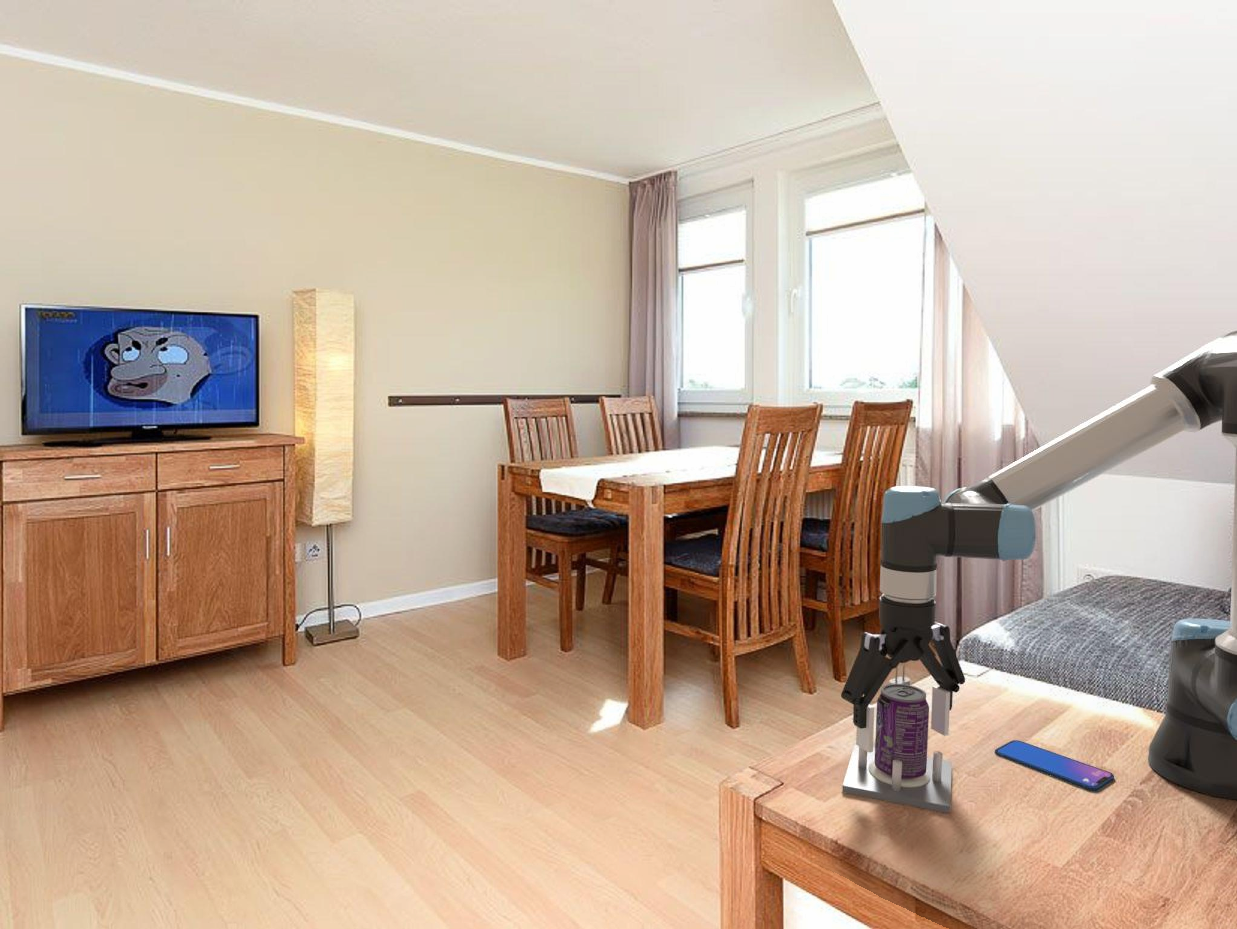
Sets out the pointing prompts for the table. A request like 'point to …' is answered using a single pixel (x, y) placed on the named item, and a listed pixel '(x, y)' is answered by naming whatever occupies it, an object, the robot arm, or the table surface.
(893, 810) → the table surface
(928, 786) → the grey peg holder stand
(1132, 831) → the table surface
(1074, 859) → the table surface
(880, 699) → the beverage can
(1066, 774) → the smartphone
